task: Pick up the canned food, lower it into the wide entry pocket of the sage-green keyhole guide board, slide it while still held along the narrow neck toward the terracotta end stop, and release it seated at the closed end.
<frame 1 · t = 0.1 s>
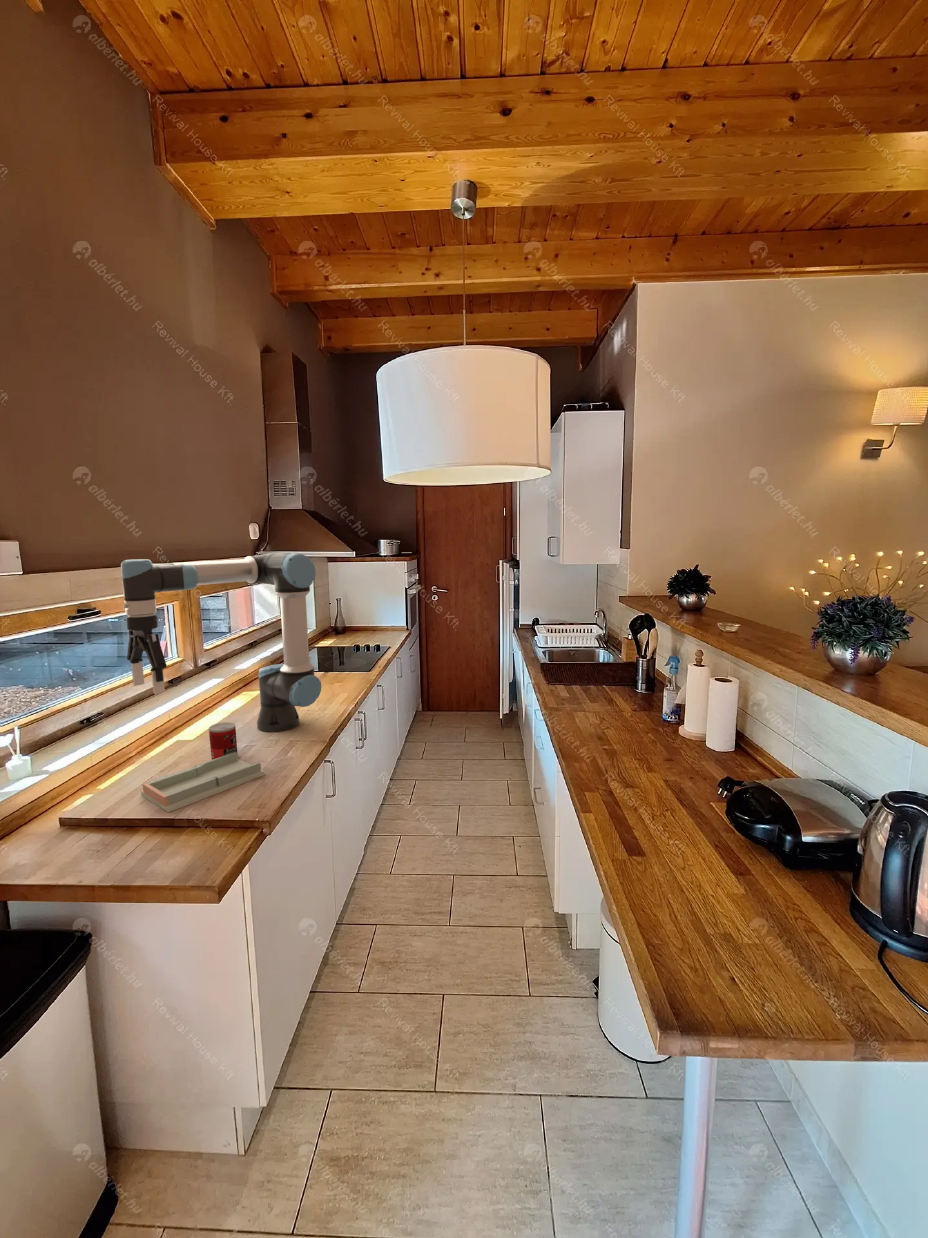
hand: (148, 688, 157), 28 cm above the table, fingers open, 13 cm apart
keyhole board: (205, 784, 159), on the table
canned food: (224, 759, 177), on the table
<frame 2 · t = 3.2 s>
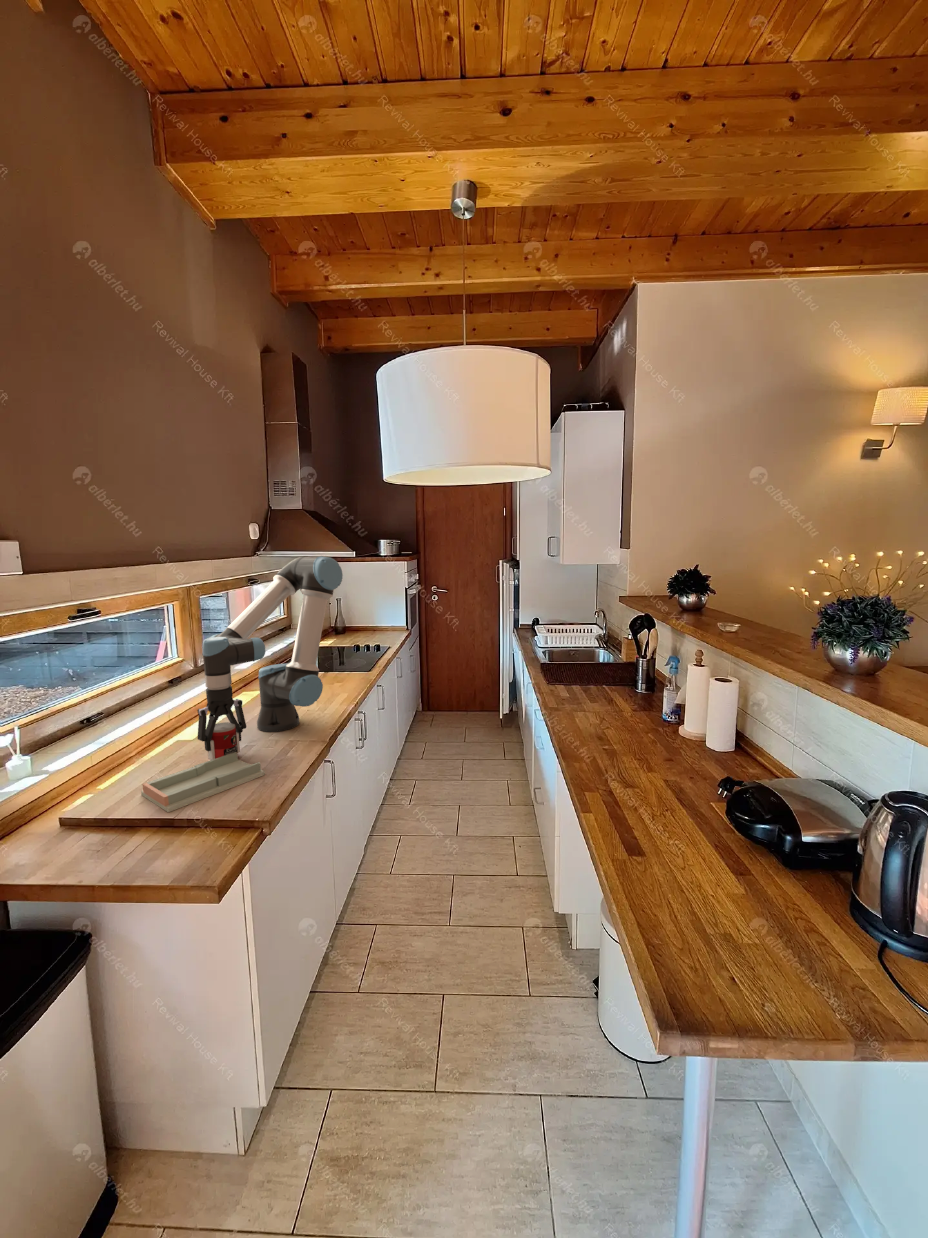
hand: (224, 755, 176), 1 cm above the table, fingers closed on canned food, 8 cm apart
canned food: (224, 759, 177), on the table, touching gripper
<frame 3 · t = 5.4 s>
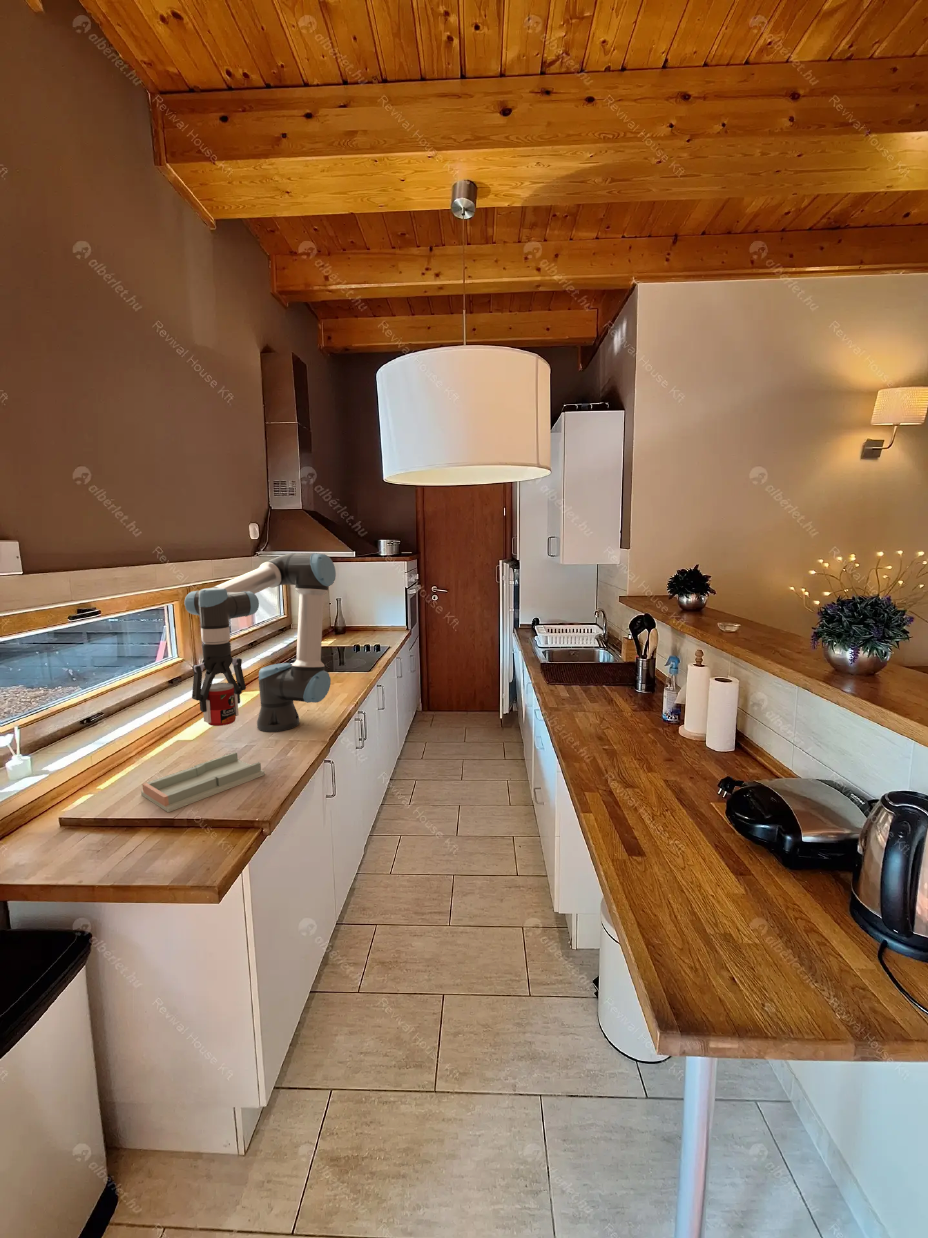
hand: (221, 718, 162), 18 cm above the table, fingers closed on canned food, 8 cm apart
canned food: (221, 722, 162), point 16 cm above the table, touching gripper
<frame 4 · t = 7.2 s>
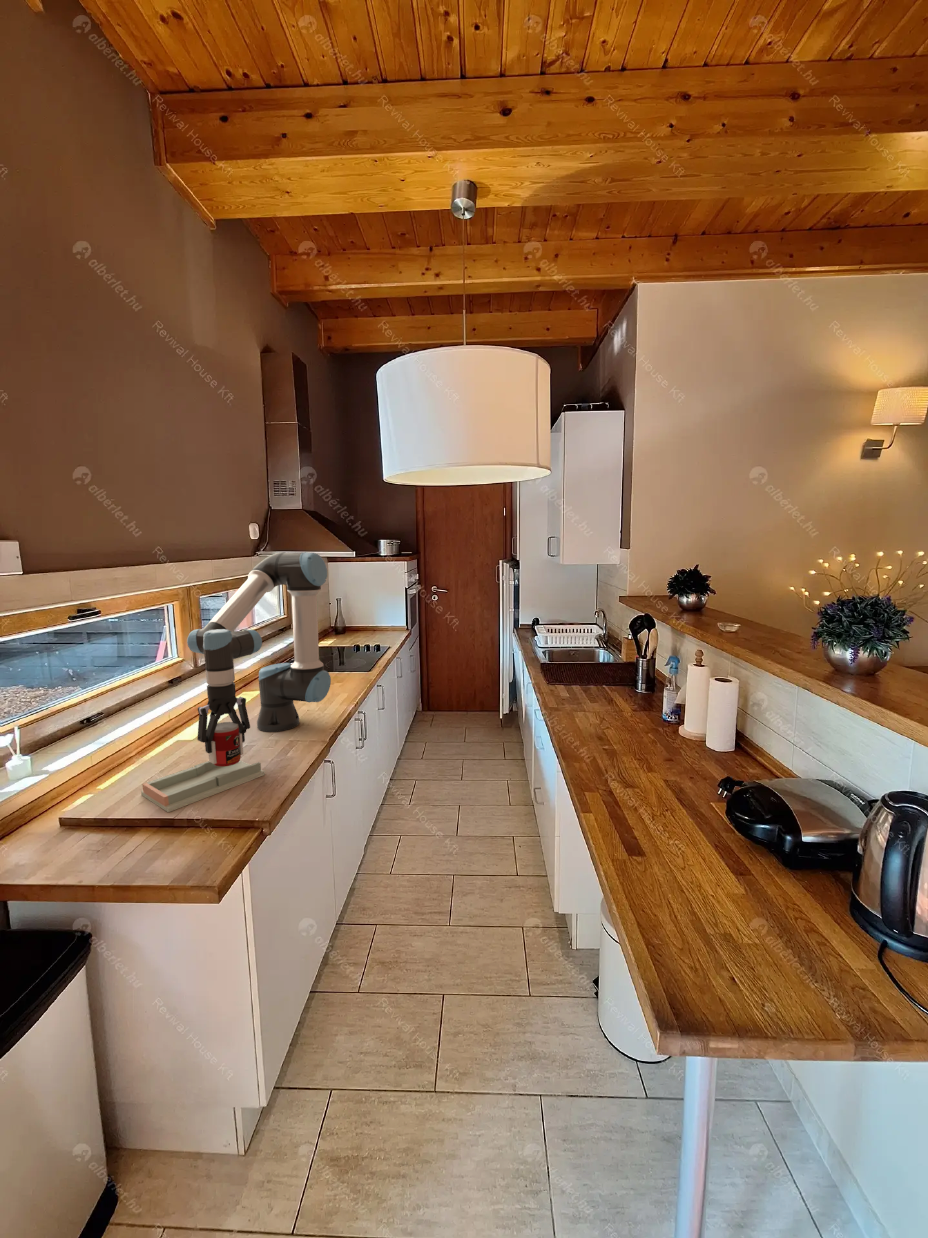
hand: (226, 757, 163), 6 cm above the table, fingers closed on canned food, 8 cm apart
canned food: (226, 762, 163), point 4 cm above the table, touching gripper
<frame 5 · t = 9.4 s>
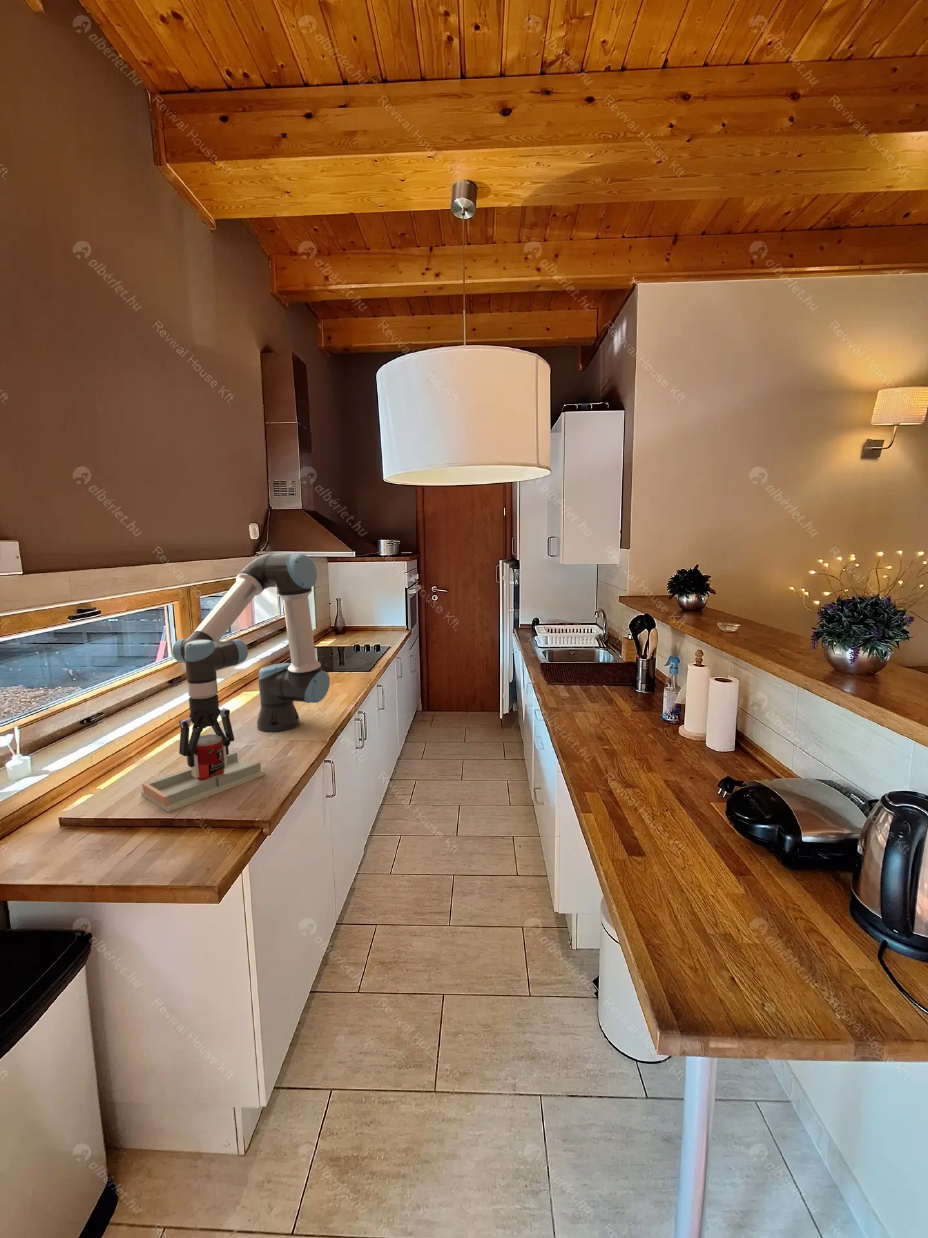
hand: (209, 771, 159), 4 cm above the table, fingers closed on canned food, 8 cm apart
canned food: (210, 775, 159), point 2 cm above the table, touching gripper
when the fingers open (3 cm above the table, at t = 11.4 s): canned food stays where it is, resting on keyhole board.
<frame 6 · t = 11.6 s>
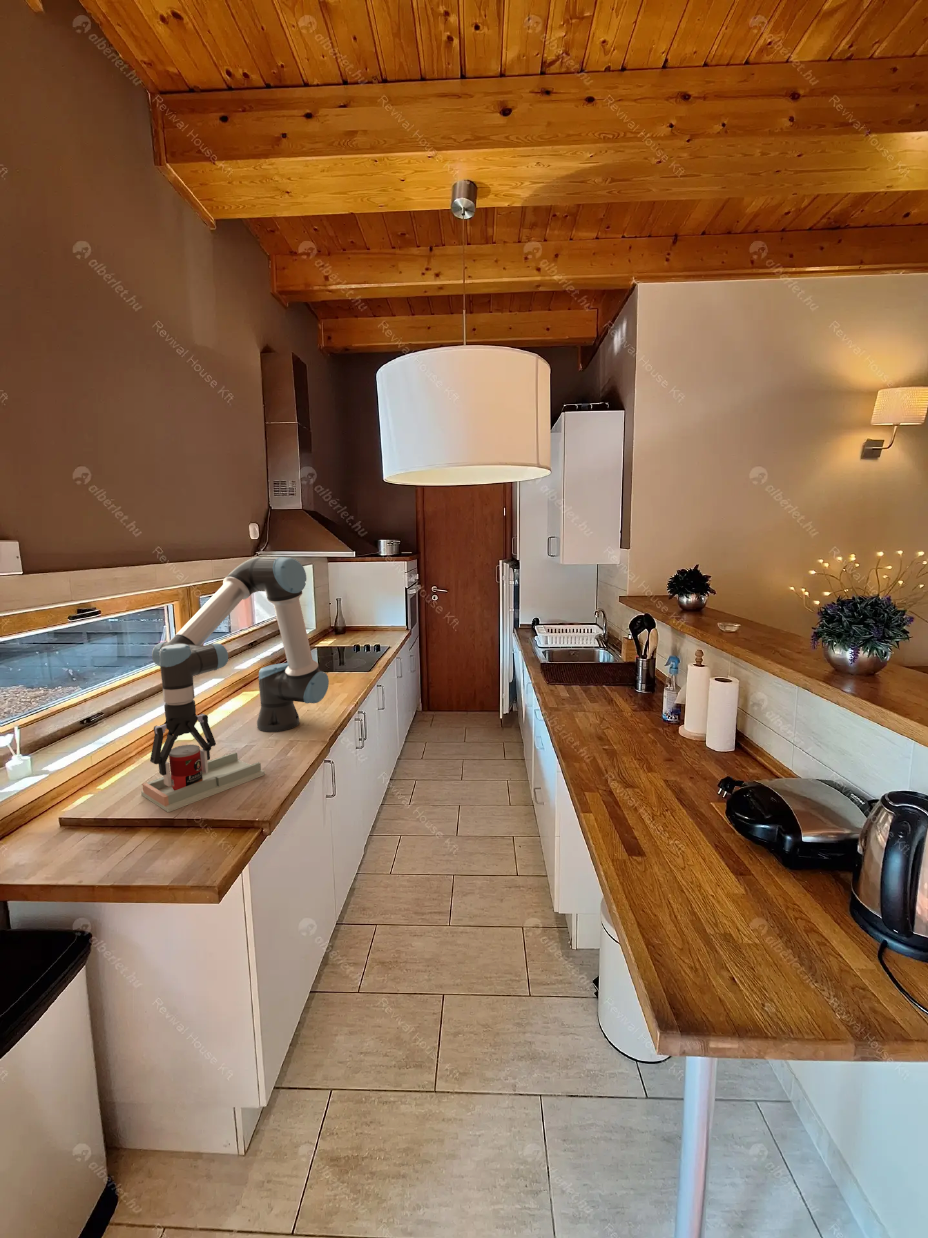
hand: (186, 778, 154), 4 cm above the table, fingers open, 10 cm apart
canned food: (187, 787, 155), point 1 cm above the table, touching keyhole board
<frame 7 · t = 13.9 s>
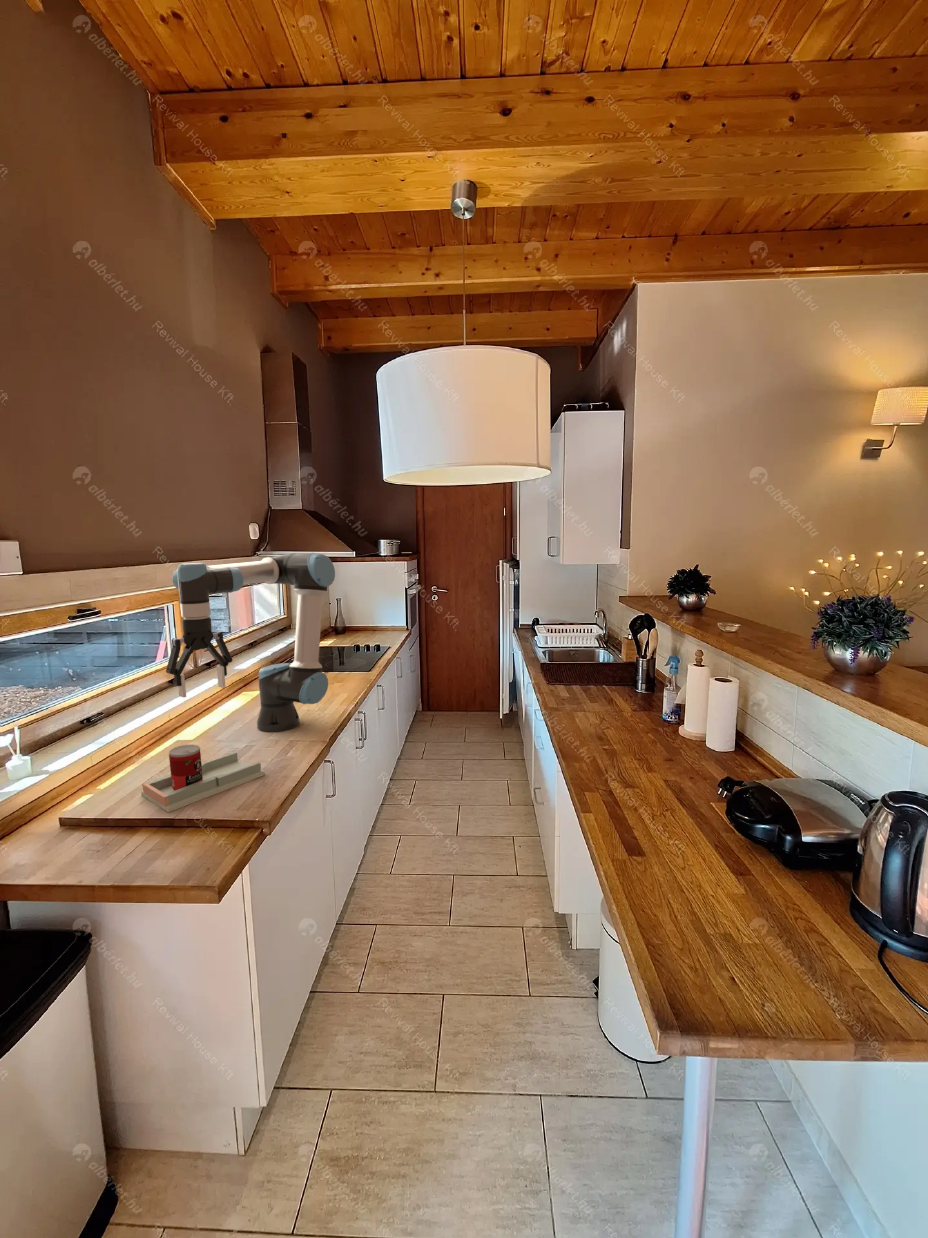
hand: (202, 691, 161), 26 cm above the table, fingers open, 11 cm apart
nothing on the table moved.
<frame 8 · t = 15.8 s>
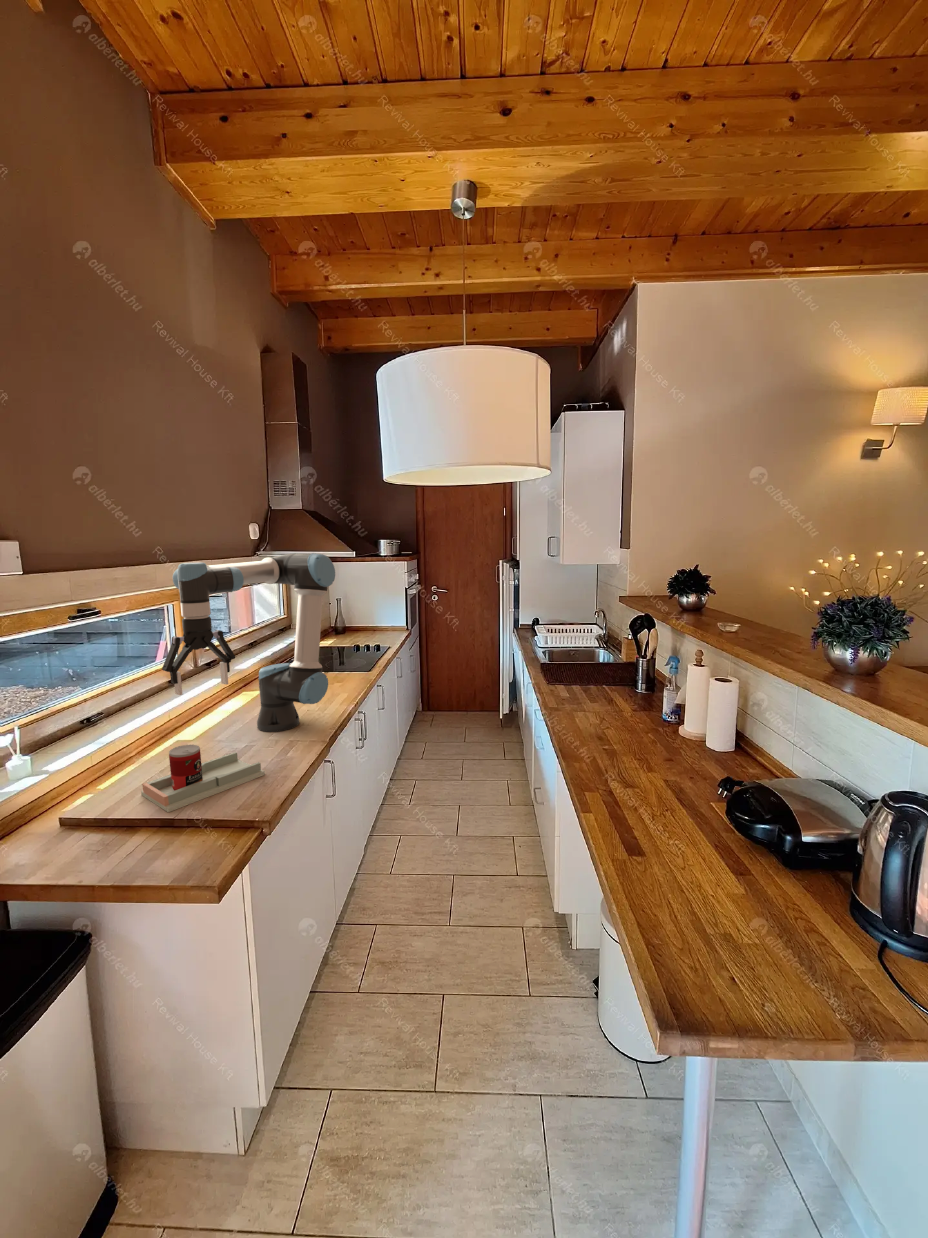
hand: (202, 688, 161), 27 cm above the table, fingers open, 13 cm apart
nothing on the table moved.
at the end: canned food 0.9 cm from the target spot on the keyhole board, point 1.0 cm above the keyhole board's base; canned food tilted 0°; the gripper is holding nothing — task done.
